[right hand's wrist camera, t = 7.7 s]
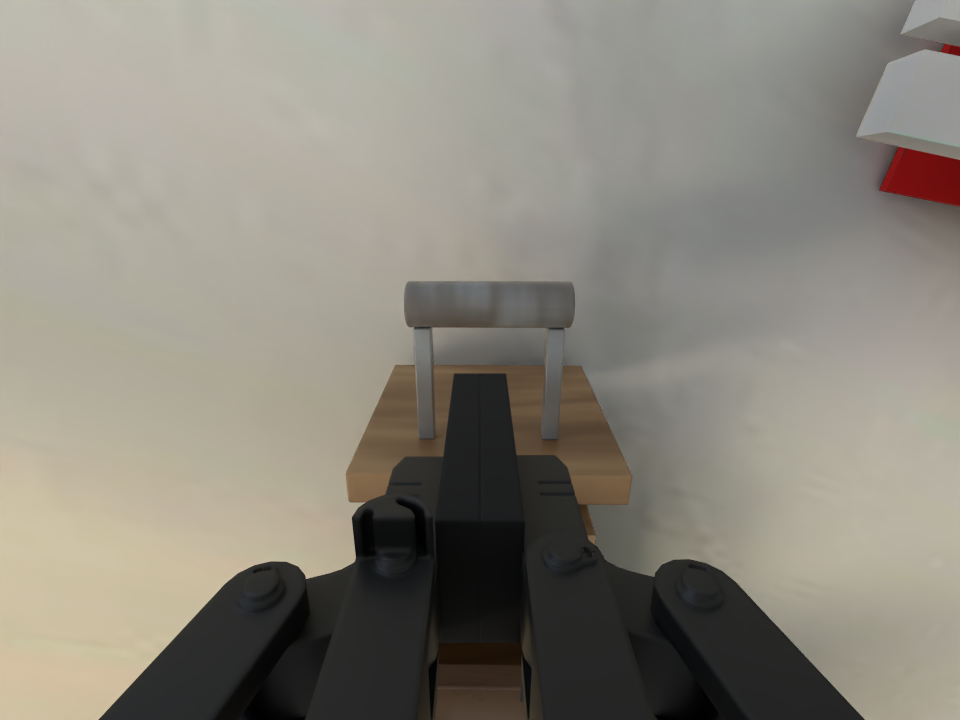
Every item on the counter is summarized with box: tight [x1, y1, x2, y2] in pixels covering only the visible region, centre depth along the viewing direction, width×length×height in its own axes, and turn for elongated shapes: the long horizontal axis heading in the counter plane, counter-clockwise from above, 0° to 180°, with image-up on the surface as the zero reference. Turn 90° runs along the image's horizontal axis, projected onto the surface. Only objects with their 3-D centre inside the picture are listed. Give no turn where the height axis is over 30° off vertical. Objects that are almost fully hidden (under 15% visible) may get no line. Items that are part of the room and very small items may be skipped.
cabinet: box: [435, 664, 525, 720], centre depth 27 cm, size 16×11×12 cm, turn 0°
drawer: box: [346, 281, 632, 665], centre depth 23 cm, size 21×10×10 cm, turn 0°
